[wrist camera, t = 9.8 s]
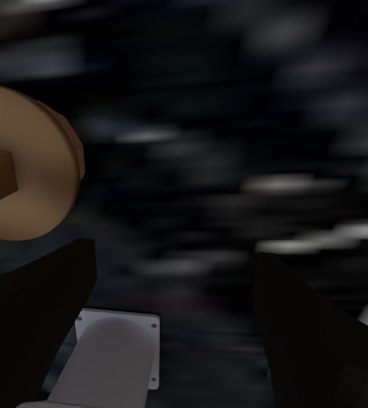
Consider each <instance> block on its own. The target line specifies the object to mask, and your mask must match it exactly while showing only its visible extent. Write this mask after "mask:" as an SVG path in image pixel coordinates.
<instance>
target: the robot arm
mask: <svg viewBox="0 0 368 408" xmlns="http://www.w3.org/2000/svg"><path fill="white" fill-rule="evenodd" d="M96 280H97V268H96V256H95V243H94V239H88V238H79V239H77V240H75V241H72V242H70V243H68V244H66V245H64V246H63V247H61V248H59V249H57V250H55V251H53V252H51V253H49V254H47V255H45V256H43V257H41V258H39V259H37V260H35V261H32V262H30V263H28V264H26V265H24V266H22V267H20V268H17V269H15V270H13V271H10V272H8V273H5V274H3V275H0V408H144V407H145V402H146V397H147V392H148V389H157V388H158V386H159V353H160V317H159V316H157V315H153V314H143V313H132V312H121V311H111V310H100V309H90V308H83V307H84V306H85V304H86V302H87V300H88V299H89V297H90V294H91V292H92V290H93V287H94V285H95V282H96ZM252 293H253V301H254V309H255V315H256V319H257V323H258V326H259V330H260V334H261V338H262V342H263V346H264V349H265V353H266V357H267V361H268V365H269V370H270V374H271V381H272V387H273V393H274V400H275V407H276V408H368V326H367V325H366V324H364V323H362V322H360V321H359V320H357V319H355V318H353V317H352V316H350V315H349V314H347V313H345V312H344V311H342V310H341V309H340V308H338V307H337V306H335V305H334V304H332V303H331V302H329V301H328V300H327V299H325V298H324V297H323V296H321V295H320V294H319V293H317V292H316V291H315V290H314V289H312V288H311V287H310V286H309V285H308V284H306V283H305V282H304V281H303V280H302V279H301V278H300V277H298V276H297V275H296V274H295V273H294V272H293V271H292V270H291V269H290V268H289V267H288V266H287V265H286V264H284V263H283V262H282V261H281V260H280V259H279V258H278V257H277V256H276V255H275V254H274V253H263V252H259V254H258V260H257V266H256V272H255V278H254V284H253V290H252ZM80 317H81V318H80ZM74 322H75V327H76V334H77V344H76V346H75V348H74V350H73V352H72V354H71V356H70V358H69V359H68V361H67V363H66V365H65V367H64V369H63V371H62V373H61V375H60V377H59V379H58V381H57V382H56V384H55V386H54V388H53V390H52V392H51V394H50V396H49V398H48V400H47V401H36V399H37V396H38V394H39V392H40V389H41V387H42V385H43V383H44V380H45V378H46V376H47V374H48V371H49V369H50V367H51V365H52V363H53V361H54V358H55V356H56V354H57V352H58V350H59V348H60V346H61V345H62V343H63V341H64V339H65V338H66V336H67V334H68V332H69V331H70V329H71V327H72V326H73V324H74ZM153 324H156V325H153ZM35 401H36V402H35Z"/></svg>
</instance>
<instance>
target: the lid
mask: <svg viewBox="0 0 368 408" xmlns="http://www.w3.org/2000/svg"><path fill="white" fill-rule="evenodd" d="M79 189H80V168H79V161H78V158H77V154H76V151H75V149H74V146H73V144H72V141H71V140H70V138H69V136H68V134H67V132H66V131H65V129H64V128H63V127H62V125H61V124H60V122H59V121H58V120H57V119H56V118H55V117H54V116H53V115H52V113H51V112H49V111H48V110H47V109H46V108H45V107H44V106H43V105H41V104H40V103H39V102H37V101H36V100H34V99H33V98H31V97H29V96H28V95H26V94H24V93H22V92H19V91H17V90H14V89H12V88H8V87H4V86H0V239H4V240H28V239H32V238H36V237H39V236H41V235H44V234H46V233H47V232H49V231H51V230H52V229H53V228H54V227H56V226H57V225H58V224H59V223H60V222H61V221H62V220H64V219H65V218H66V216H67V215H68V214H69V213H70V211H71V210H72V208H73V207H74V205H75V202H76V200H77V197H78V193H79Z"/></svg>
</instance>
